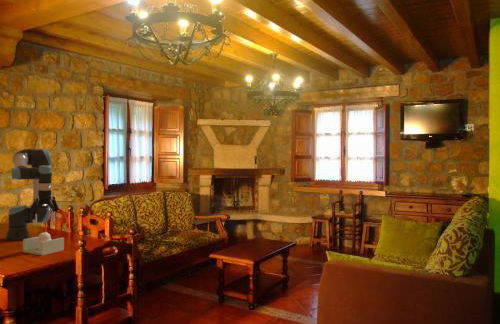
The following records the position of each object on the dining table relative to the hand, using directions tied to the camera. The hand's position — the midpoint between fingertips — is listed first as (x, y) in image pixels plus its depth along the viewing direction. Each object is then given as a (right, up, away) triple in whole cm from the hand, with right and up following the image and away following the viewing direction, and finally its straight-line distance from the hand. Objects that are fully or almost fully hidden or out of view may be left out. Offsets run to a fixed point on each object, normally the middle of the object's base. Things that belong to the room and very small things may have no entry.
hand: (44, 223), depth 260 cm
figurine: (0, -18, 0) cm, 18 cm away
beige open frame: (0, -18, 0) cm, 18 cm away
